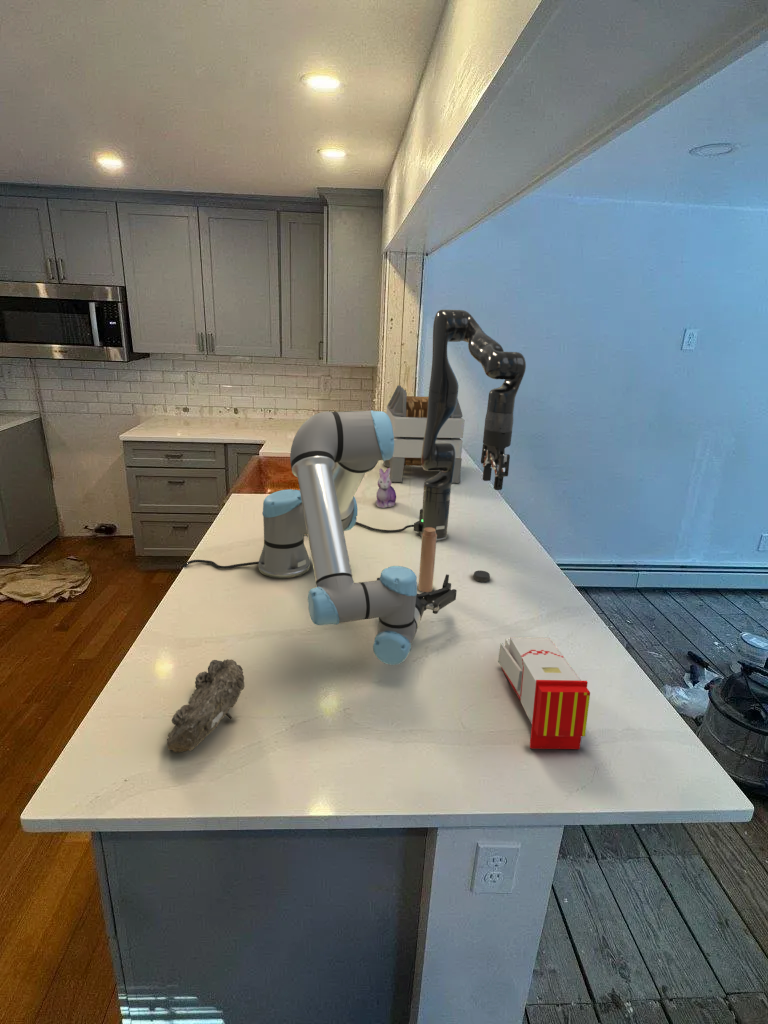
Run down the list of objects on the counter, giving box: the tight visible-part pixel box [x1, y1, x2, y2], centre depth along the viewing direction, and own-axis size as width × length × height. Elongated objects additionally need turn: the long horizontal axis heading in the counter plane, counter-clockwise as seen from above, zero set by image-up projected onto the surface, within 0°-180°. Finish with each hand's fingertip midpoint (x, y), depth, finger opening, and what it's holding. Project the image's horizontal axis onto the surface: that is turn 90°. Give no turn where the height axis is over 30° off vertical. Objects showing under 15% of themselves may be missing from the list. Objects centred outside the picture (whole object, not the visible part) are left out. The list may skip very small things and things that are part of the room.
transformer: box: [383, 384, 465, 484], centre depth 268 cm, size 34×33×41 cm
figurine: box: [375, 467, 397, 509], centre depth 226 cm, size 9×10×15 cm
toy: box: [497, 636, 591, 750], centre depth 115 cm, size 12×13×30 cm
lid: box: [472, 570, 491, 583], centre depth 169 cm, size 5×5×2 cm
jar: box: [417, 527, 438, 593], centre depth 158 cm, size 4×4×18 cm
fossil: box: [166, 658, 245, 754], centre depth 106 cm, size 22×10×15 cm
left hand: (421, 575), depth 149 cm, fingers open, 13 cm apart
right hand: (491, 485), depth 159 cm, fingers open, 8 cm apart
